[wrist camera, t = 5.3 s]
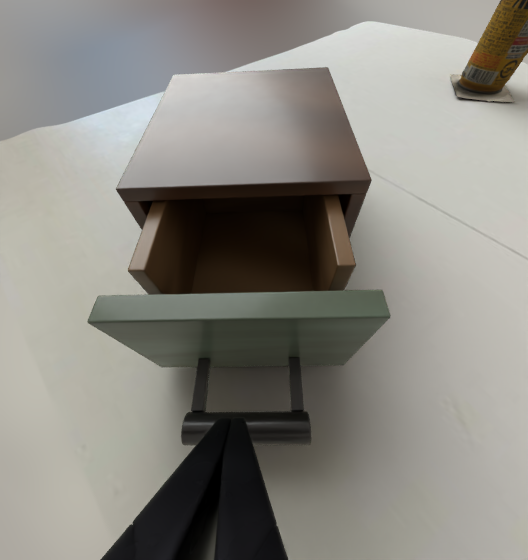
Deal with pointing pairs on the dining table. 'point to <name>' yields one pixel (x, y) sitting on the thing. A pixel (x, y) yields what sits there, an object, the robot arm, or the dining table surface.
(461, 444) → the dining table surface
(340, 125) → the cabinet
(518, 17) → the condiment
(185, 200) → the drawer
